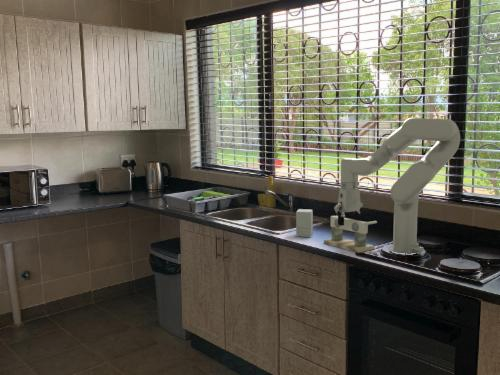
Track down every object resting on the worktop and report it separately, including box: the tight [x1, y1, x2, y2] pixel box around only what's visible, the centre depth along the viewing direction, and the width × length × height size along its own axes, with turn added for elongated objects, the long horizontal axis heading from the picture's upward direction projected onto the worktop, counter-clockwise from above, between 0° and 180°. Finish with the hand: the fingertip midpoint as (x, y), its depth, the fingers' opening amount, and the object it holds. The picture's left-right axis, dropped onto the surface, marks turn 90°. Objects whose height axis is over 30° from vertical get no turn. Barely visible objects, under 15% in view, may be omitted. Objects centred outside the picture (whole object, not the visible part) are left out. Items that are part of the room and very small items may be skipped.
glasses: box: [330, 214, 378, 235], centre depth 225 cm, size 20×9×5 cm, turn 36°
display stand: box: [323, 227, 375, 254], centre depth 224 cm, size 21×10×8 cm, turn 36°
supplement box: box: [295, 208, 314, 238], centre depth 246 cm, size 7×7×13 cm
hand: (348, 223), depth 224 cm, fingers open, 9 cm apart
